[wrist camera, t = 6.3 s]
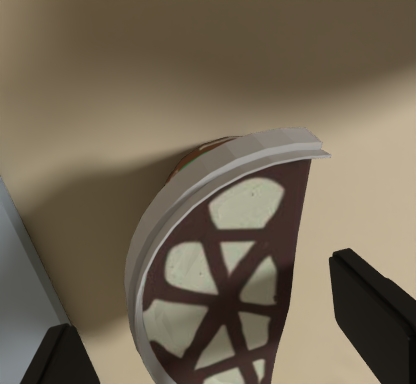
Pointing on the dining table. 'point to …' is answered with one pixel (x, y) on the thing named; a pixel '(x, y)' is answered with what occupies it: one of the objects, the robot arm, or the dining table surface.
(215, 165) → the food container
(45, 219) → the dining table surface
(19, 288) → the slate mat
